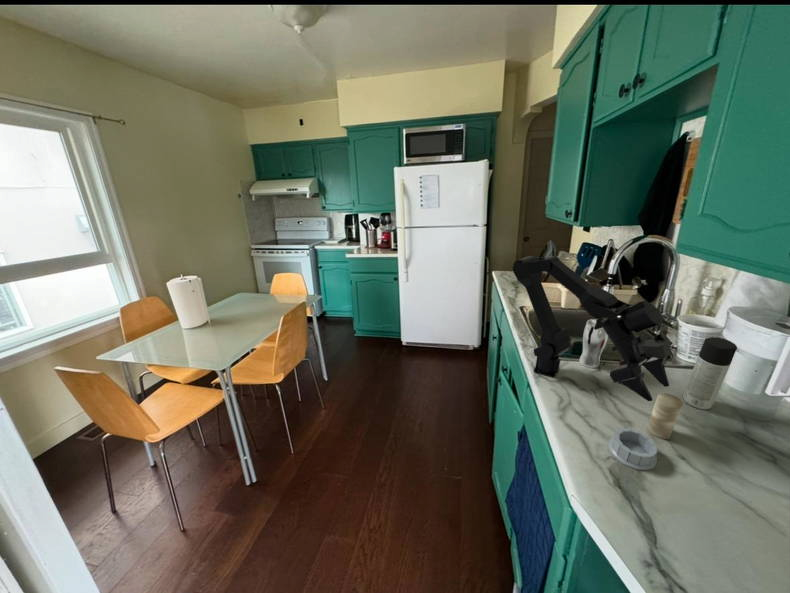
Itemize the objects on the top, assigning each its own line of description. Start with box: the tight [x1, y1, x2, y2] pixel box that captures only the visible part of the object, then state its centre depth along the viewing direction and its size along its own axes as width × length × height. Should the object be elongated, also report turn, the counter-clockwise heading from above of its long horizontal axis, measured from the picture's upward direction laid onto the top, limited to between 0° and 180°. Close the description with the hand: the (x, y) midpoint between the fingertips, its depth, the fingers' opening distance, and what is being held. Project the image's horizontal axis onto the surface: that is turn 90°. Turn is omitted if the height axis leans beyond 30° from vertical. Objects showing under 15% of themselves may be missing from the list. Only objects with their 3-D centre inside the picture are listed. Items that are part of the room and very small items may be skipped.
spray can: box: [682, 336, 738, 410], centre depth 98 cm, size 7×7×20 cm
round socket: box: [607, 427, 658, 471], centre depth 86 cm, size 10×10×4 cm
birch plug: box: [646, 392, 684, 440], centre depth 90 cm, size 5×5×10 cm
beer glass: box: [579, 318, 609, 369], centre depth 117 cm, size 7×7×15 cm
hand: (659, 393), depth 90 cm, fingers open, 9 cm apart
